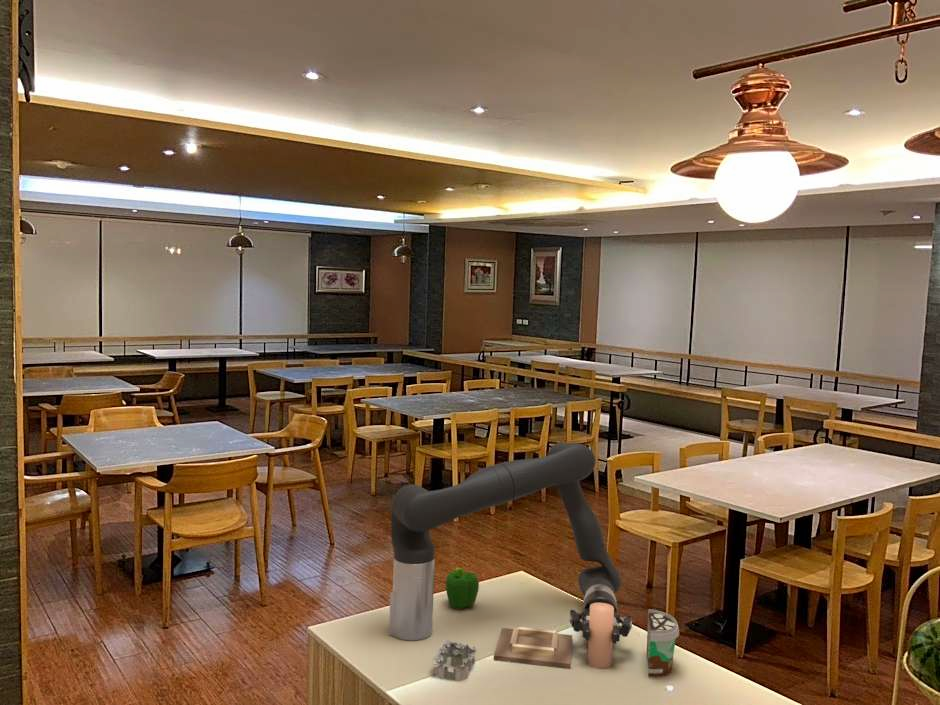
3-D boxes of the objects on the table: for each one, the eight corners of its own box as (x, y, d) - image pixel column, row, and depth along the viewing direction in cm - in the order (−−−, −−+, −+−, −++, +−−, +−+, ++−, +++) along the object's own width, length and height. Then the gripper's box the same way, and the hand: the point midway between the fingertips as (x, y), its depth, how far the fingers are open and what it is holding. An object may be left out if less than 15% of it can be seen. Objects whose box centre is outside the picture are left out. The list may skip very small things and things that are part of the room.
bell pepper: (466, 596, 188) (468, 558, 187) (483, 608, 181) (484, 568, 180) (438, 602, 183) (439, 563, 183) (454, 614, 176) (455, 573, 176)
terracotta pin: (587, 667, 152) (589, 610, 151) (587, 656, 157) (589, 601, 156) (612, 669, 151) (614, 613, 150) (611, 658, 156) (613, 603, 155)
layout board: (493, 660, 153) (494, 648, 153) (501, 632, 167) (502, 621, 167) (570, 668, 151) (570, 656, 151) (572, 639, 165) (572, 628, 164)
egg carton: (465, 684, 144) (466, 664, 143) (429, 678, 146) (429, 658, 145) (479, 660, 154) (479, 641, 154) (445, 654, 156) (445, 635, 156)
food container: (679, 683, 146) (682, 635, 145) (648, 679, 147) (650, 631, 147) (675, 656, 158) (677, 611, 158) (646, 652, 159) (648, 607, 159)
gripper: (569, 587, 169) (567, 616, 152) (632, 592, 166) (637, 623, 149) (568, 618, 169) (565, 651, 152) (631, 625, 167) (635, 659, 150)
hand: (601, 637), depth 151 cm, fingers closed on terracotta pin, 5 cm apart
